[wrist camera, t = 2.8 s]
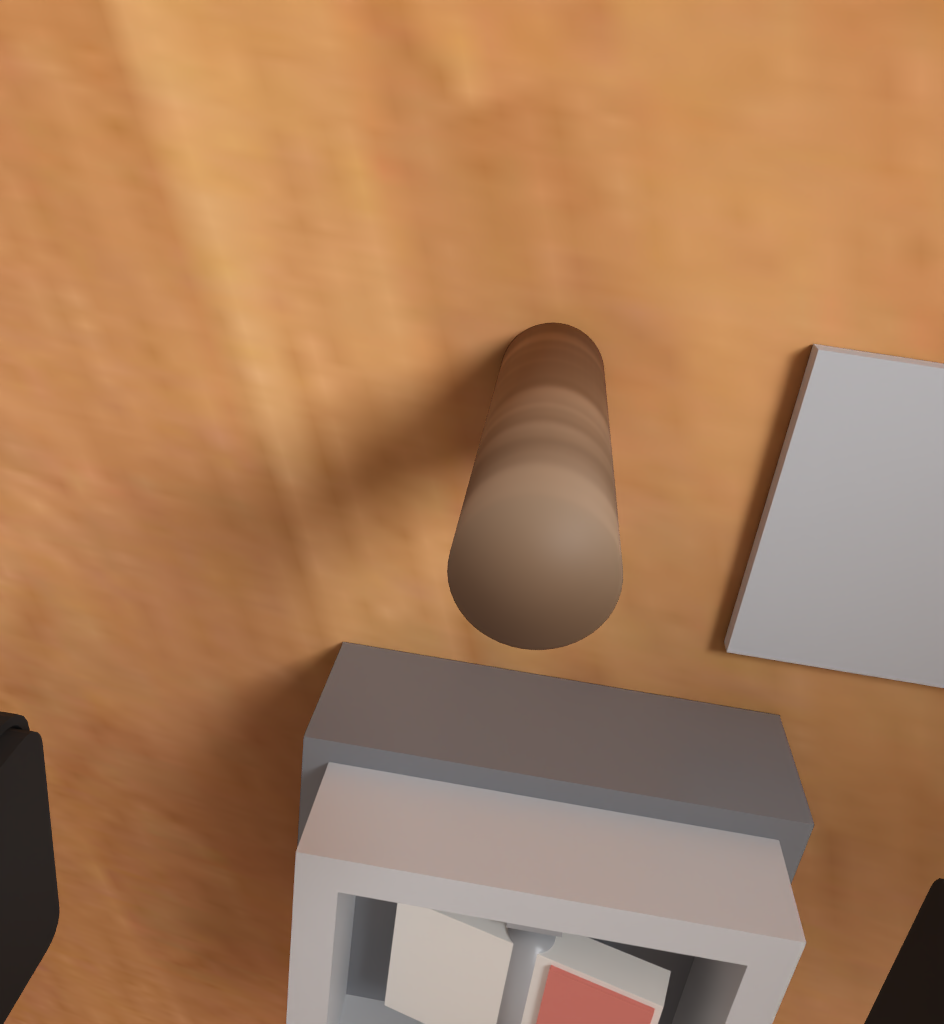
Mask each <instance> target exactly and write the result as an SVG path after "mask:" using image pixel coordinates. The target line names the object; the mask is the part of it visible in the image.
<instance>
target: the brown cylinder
mask: <svg viewBox="0 0 944 1024" xmlns="http://www.w3.org/2000/svg"><path fill="white" fill-rule="evenodd" d="M447 573H448V583H449V587H450V591H451V594H452V596H453V599H454V601H455V603H456V605H457V607H458V608H459V610H460V611H461V613H462V614H463V615H464V617H465V618H466V619H467V620H468V621H469V622H470V623H471V624H472V625H473V626H474V627H475V628H477V629H478V630H479V631H480V632H482V633H483V634H485V635H486V636H488V637H490V638H492V639H494V640H496V641H498V642H500V643H503V644H506V645H509V646H512V647H517V648H521V649H530V650H545V649H554V648H559V647H563V646H567V645H569V644H572V643H575V642H577V641H579V640H581V639H583V638H585V637H587V636H588V635H590V634H591V633H593V632H594V631H595V630H596V629H598V628H599V627H600V626H601V625H602V624H603V623H604V622H605V621H606V620H607V618H608V617H609V616H610V614H611V613H612V611H613V610H614V608H615V606H616V604H617V602H618V600H619V596H620V593H621V590H622V583H623V566H622V555H621V544H620V534H619V523H618V512H617V502H616V491H615V480H614V470H613V459H612V448H611V438H610V427H609V416H608V405H607V395H606V384H605V373H604V365H603V360H602V357H601V354H600V352H599V350H598V348H597V346H596V345H595V343H594V342H593V341H592V340H591V339H590V338H589V337H588V336H587V335H586V334H585V333H583V332H582V331H580V330H578V329H577V328H575V327H572V326H569V325H566V324H561V323H544V324H539V325H536V326H533V327H531V328H529V329H527V330H525V331H524V332H522V333H521V334H519V335H518V336H517V337H516V338H515V339H514V340H513V341H512V342H511V344H510V345H509V347H508V348H507V350H506V352H505V354H504V357H503V360H502V363H501V367H500V371H499V374H498V378H497V382H496V385H495V389H494V393H493V396H492V400H491V404H490V407H489V411H488V415H487V418H486V422H485V426H484V429H483V433H482V437H481V440H480V444H479V448H478V451H477V455H476V459H475V462H474V466H473V470H472V473H471V477H470V481H469V484H468V488H467V492H466V495H465V499H464V503H463V506H462V510H461V514H460V517H459V521H458V525H457V528H456V532H455V536H454V539H453V543H452V547H451V550H450V555H449V559H448V570H447Z"/></svg>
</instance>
